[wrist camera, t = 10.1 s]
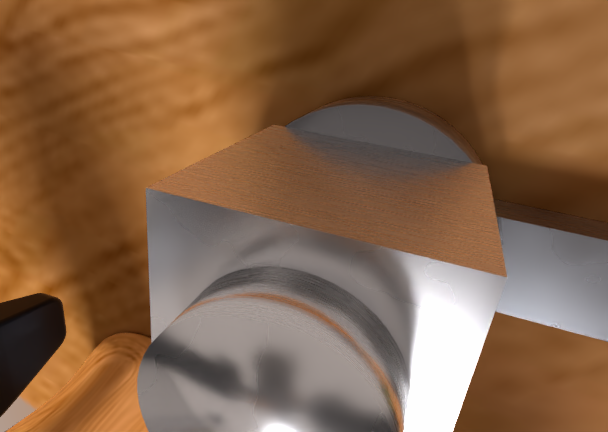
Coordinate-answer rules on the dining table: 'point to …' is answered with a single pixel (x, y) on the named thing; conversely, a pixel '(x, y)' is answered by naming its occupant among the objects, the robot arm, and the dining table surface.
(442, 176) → the cube with round boss
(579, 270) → the ratchet
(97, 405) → the beer glass
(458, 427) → the dining table surface
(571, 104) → the dining table surface
